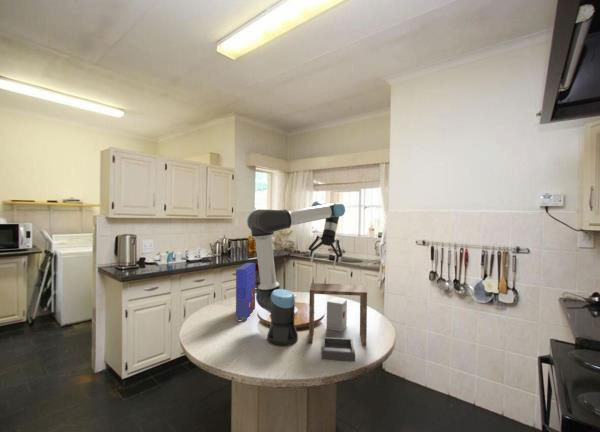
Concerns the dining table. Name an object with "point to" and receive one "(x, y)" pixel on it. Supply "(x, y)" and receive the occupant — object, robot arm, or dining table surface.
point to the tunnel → (340, 290)
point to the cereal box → (245, 291)
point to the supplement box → (336, 314)
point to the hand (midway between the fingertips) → (322, 265)
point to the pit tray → (338, 349)
